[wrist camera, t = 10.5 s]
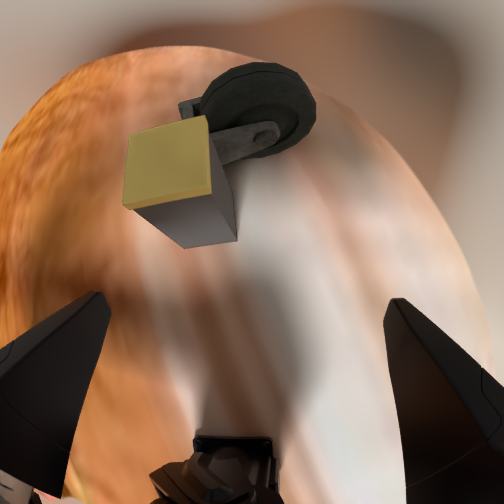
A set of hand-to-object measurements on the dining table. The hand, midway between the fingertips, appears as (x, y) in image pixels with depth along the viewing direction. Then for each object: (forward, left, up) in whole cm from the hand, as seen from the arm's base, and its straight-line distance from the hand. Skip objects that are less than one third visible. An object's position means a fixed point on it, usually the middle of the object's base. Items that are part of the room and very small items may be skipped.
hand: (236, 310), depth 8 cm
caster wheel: (-2, +15, -14) cm, 20 cm away
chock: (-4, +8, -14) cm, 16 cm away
